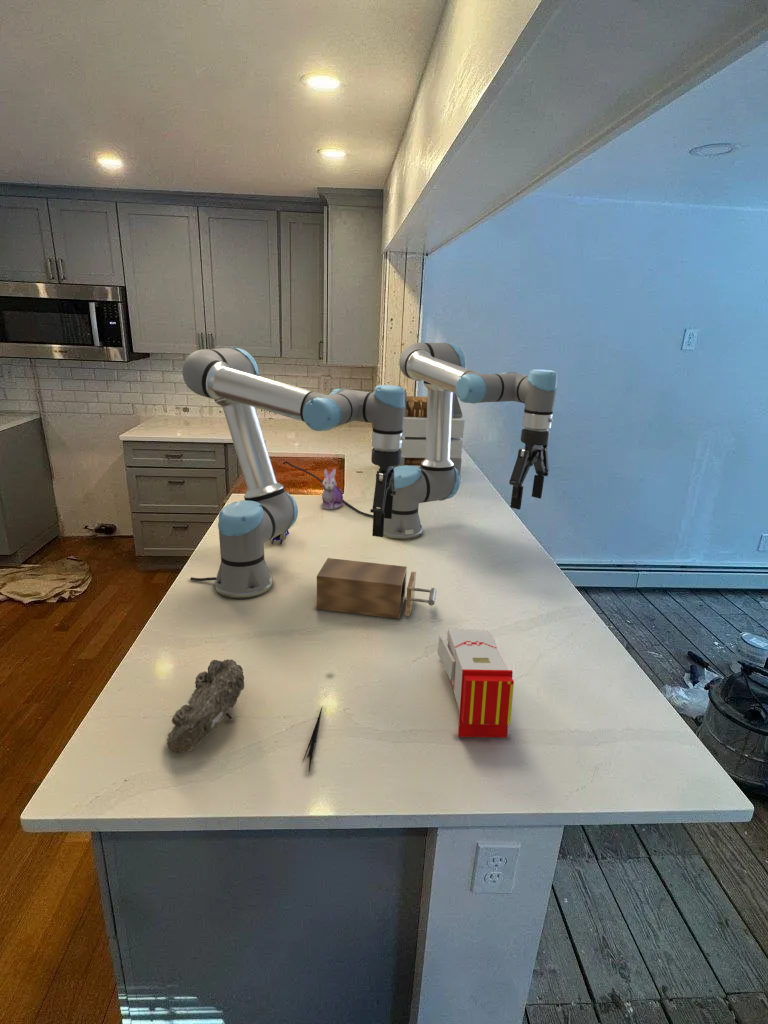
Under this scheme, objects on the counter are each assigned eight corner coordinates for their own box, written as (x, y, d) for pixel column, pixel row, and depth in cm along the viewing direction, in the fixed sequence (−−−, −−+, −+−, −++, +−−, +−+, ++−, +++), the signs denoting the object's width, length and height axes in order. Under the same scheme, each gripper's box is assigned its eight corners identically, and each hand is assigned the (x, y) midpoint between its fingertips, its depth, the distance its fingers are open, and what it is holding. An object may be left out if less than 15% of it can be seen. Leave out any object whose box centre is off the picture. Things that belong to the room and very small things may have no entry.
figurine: (325, 511, 218) (326, 473, 213) (316, 503, 226) (316, 467, 221) (348, 508, 222) (349, 471, 217) (337, 500, 231) (338, 465, 225)
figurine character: (286, 550, 185) (292, 529, 198) (285, 530, 182) (291, 509, 195) (265, 550, 185) (273, 528, 198) (264, 529, 181) (272, 509, 195)
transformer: (382, 463, 289) (386, 382, 275) (445, 464, 293) (451, 384, 279) (390, 482, 257) (394, 392, 243) (460, 483, 261) (468, 394, 247)
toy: (488, 613, 130) (523, 677, 101) (484, 667, 133) (517, 744, 104) (435, 612, 130) (455, 676, 101) (432, 666, 133) (451, 743, 103)
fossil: (192, 660, 117) (244, 628, 112) (224, 691, 120) (276, 661, 115) (142, 746, 98) (202, 712, 93) (182, 779, 101) (242, 748, 96)
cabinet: (404, 598, 156) (406, 566, 152) (399, 619, 145) (401, 585, 142) (327, 589, 159) (327, 557, 155) (316, 608, 148) (316, 575, 145)
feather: (331, 679, 122) (336, 673, 122) (307, 777, 96) (313, 769, 95) (324, 675, 122) (329, 669, 121) (298, 772, 95) (304, 764, 95)
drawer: (436, 599, 154) (438, 574, 151) (433, 618, 144) (435, 591, 142) (340, 588, 157) (341, 563, 155) (331, 606, 148) (332, 579, 145)
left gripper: (393, 462, 131) (388, 546, 138) (408, 439, 154) (403, 512, 161) (362, 459, 132) (358, 543, 139) (380, 436, 155) (377, 509, 162)
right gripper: (529, 437, 142) (518, 516, 149) (567, 424, 161) (556, 496, 168) (502, 432, 147) (493, 509, 154) (542, 421, 165) (532, 490, 172)
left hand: (382, 526), depth 150 cm, fingers open, 13 cm apart
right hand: (526, 502), depth 161 cm, fingers open, 13 cm apart
